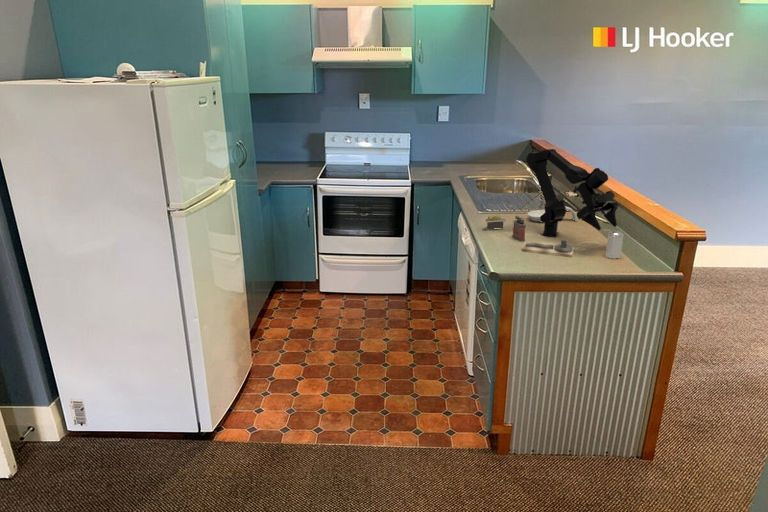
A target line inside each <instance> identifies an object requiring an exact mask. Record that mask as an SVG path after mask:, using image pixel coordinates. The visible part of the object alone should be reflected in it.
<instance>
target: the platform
mask: <svg viewBox="0 0 768 512" xmlns="http://www.w3.org/2000/svg"><path fill="white" fill-rule="evenodd" d="M506 221H507V219H505V218H502V216H500V215H489V216H487V218H485V220H484V222H485V223H487V224H486V230H487V229H494V228H503V229H504V222H506Z"/></svg>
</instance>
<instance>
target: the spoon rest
mask: <svg viewBox="0 0 768 512" xmlns="http://www.w3.org/2000/svg"><path fill="white" fill-rule="evenodd" d="M564 206H565V207H566V209H565V210H566V211H568V212H570V213H571V214H572V220H573V219H574V220H575V221H578V217H577V212H575V211H574V210H573V209H572V208H571V207H568V206H566V205H564ZM544 213H545V209H544V208H543V209H537V210H531V211H528V212H527V217H528V218H529V219H530V220H532V221H534V222H536V221H541V219H540V216H542V215H543V214H544ZM574 220H573V221H574ZM575 221H574V222H575Z"/></svg>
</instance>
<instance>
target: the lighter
mask: <svg viewBox="0 0 768 512" xmlns="http://www.w3.org/2000/svg"><path fill="white" fill-rule="evenodd" d="M514 218H515V220H513V222H512V223H513V227H512V236H511V237H512V238H513V239H514V240H515V241H518V242H521V243H523V242H524V243H525V242H526V239H525V237H526V227H527V224H526V223H525V218H523V216H519V215H515V217H514Z"/></svg>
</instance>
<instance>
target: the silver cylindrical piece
mask: <svg viewBox="0 0 768 512" xmlns="http://www.w3.org/2000/svg"><path fill="white" fill-rule="evenodd" d="M624 236H625V235H624V232H623V231H619V230H609V231H608V234H607V241H606V248H605V254H604V255H606V256H605V258H608V257H609V258H608V259H610V258H619V257H620V258H621V256H622V250H623V243H624V242H623V241H624ZM620 258H619V259H620Z"/></svg>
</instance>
